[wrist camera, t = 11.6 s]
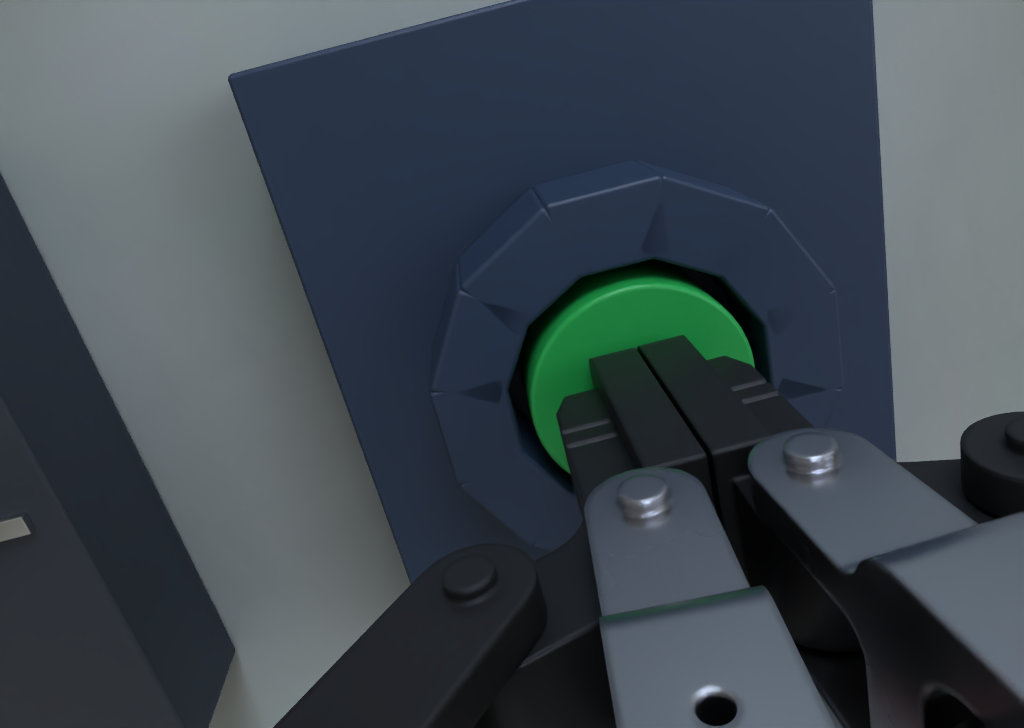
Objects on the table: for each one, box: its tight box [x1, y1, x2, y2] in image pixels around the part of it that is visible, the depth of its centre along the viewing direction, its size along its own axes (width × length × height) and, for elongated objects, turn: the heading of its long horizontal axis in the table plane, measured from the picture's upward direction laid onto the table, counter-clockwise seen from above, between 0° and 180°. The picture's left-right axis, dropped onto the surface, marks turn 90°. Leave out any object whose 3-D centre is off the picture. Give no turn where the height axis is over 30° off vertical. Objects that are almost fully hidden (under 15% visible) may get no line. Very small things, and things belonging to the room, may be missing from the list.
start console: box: [228, 0, 896, 584], centre depth 14 cm, size 12×10×4 cm
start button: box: [520, 259, 755, 474], centre depth 13 cm, size 4×4×2 cm
